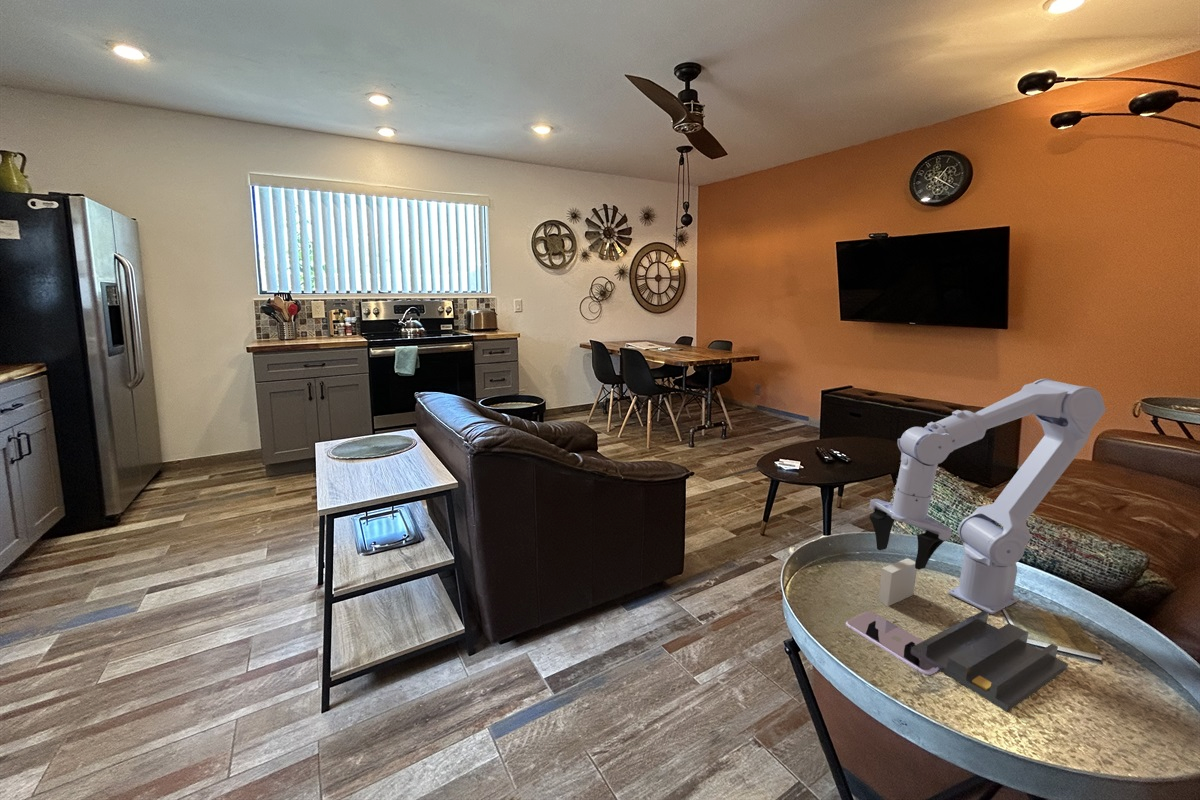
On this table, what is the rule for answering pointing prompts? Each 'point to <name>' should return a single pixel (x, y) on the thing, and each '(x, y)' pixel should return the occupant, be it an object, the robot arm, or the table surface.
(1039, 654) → the charcoal rack
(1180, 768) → the table surface
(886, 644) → the mobile phone
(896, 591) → the panel
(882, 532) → the robot arm
